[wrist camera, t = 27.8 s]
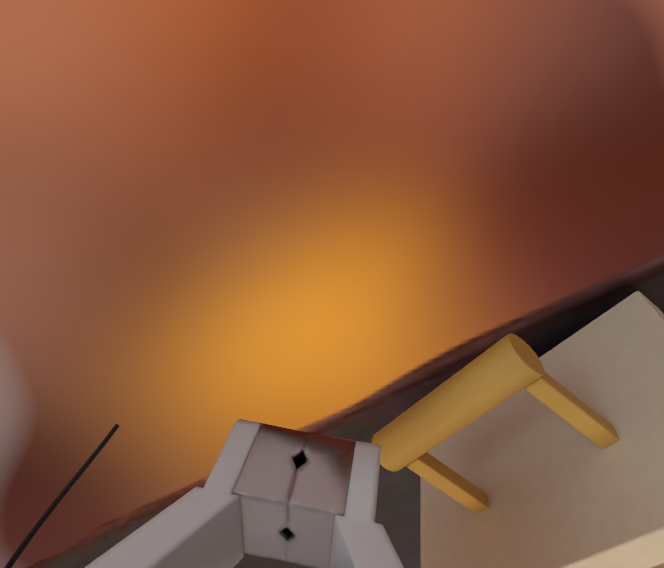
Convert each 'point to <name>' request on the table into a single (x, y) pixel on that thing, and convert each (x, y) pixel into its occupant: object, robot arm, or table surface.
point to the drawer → (544, 451)
